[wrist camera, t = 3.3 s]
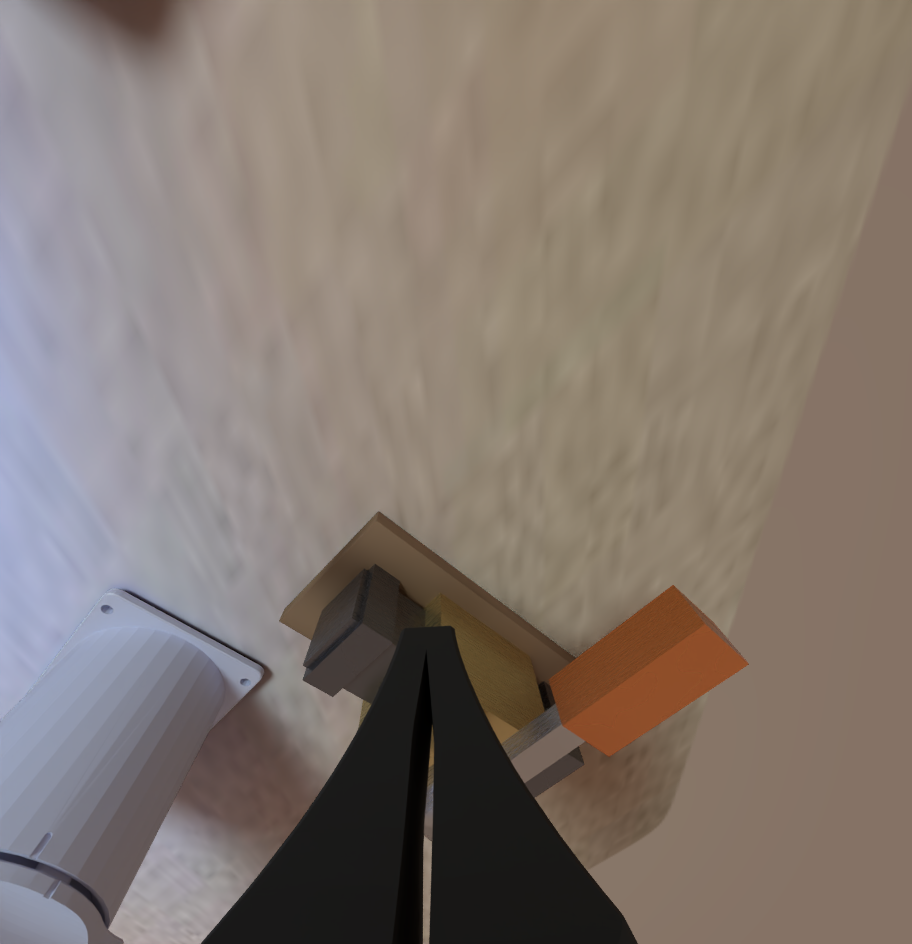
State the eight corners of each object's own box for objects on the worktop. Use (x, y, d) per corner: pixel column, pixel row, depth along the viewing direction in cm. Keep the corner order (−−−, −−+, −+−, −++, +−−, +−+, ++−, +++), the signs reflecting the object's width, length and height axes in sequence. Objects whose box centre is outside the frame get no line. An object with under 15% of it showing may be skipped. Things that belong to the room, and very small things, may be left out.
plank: (504, 742, 24) (506, 755, 24) (284, 608, 20) (279, 620, 19) (596, 674, 23) (602, 687, 22) (378, 511, 18) (376, 520, 17)
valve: (506, 738, 23) (527, 860, 18) (310, 619, 19) (268, 732, 14) (575, 688, 22) (617, 804, 17) (379, 549, 18) (359, 646, 13)
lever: (459, 807, 16) (461, 858, 15) (407, 780, 15) (404, 832, 14) (717, 625, 13) (752, 667, 12) (669, 581, 12) (700, 620, 11)
